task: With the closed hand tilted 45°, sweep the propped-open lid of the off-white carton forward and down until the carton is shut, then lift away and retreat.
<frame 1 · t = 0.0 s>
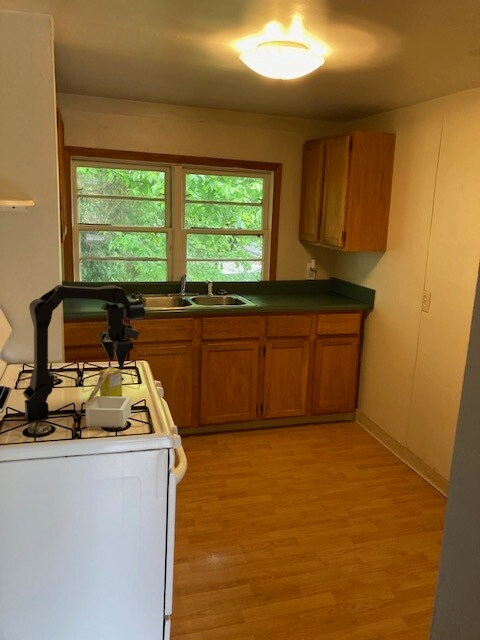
hand: (116, 363, 186), 15 cm above the countertop, tool pointing down, fingers open, 9 cm apart
carton: (109, 419, 173), on the countertop
carton lid: (98, 386, 171), point 12 cm above the countertop, hinge at 60.0°
supplement box: (111, 398, 193), on the countertop
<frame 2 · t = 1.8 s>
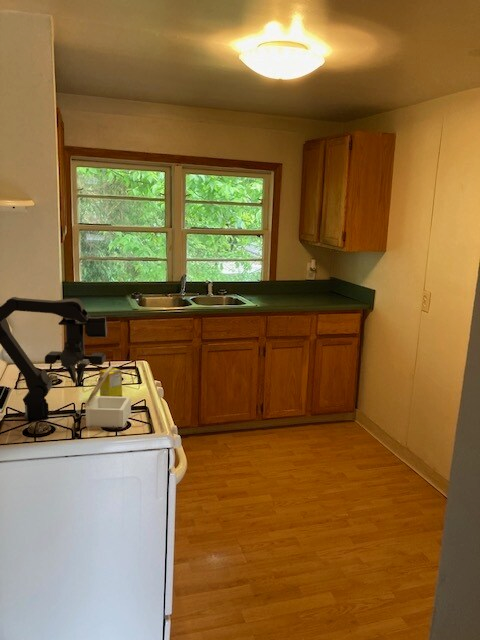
hand: (76, 382, 173), 12 cm above the countertop, tool pointing down, fingers closed
nothing on the countertop moved.
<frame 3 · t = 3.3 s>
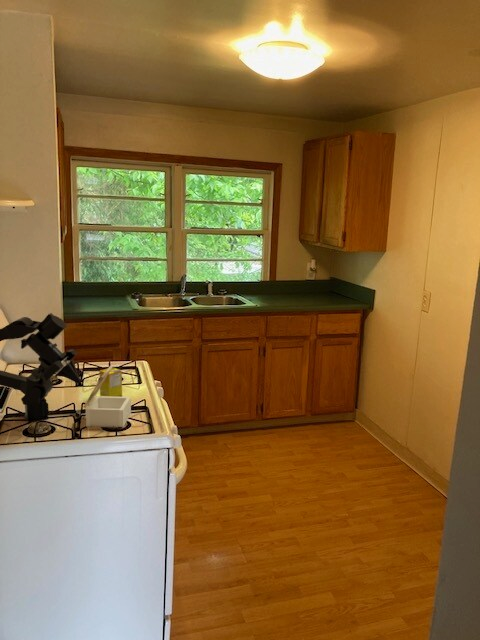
hand: (79, 382, 170), 13 cm above the countertop, tool tilted 45°, fingers closed
nothing on the countertop moved.
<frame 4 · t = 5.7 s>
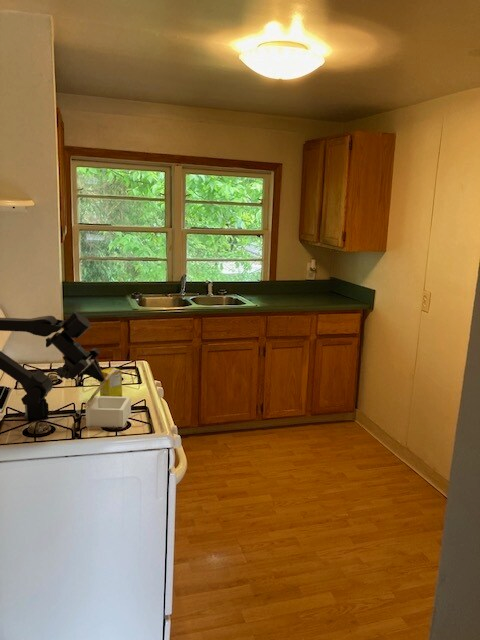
hand: (103, 381, 170), 14 cm above the countertop, tool tilted 45°, fingers closed, pressing on carton lid
carton lid: (100, 387, 171), point 11 cm above the countertop, hinge at 53.6°, touching gripper
everything else where it was.
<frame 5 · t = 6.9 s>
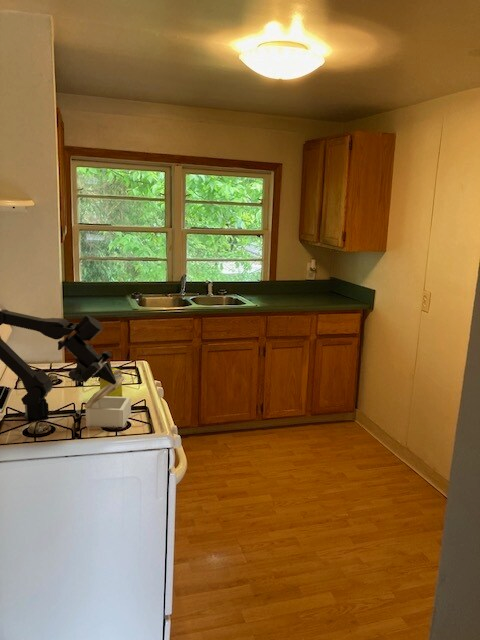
hand: (115, 383, 170), 13 cm above the countertop, tool tilted 45°, fingers closed, pressing on carton lid
carton lid: (104, 391, 171), point 10 cm above the countertop, hinge at 33.9°, touching gripper
everything else where it was.
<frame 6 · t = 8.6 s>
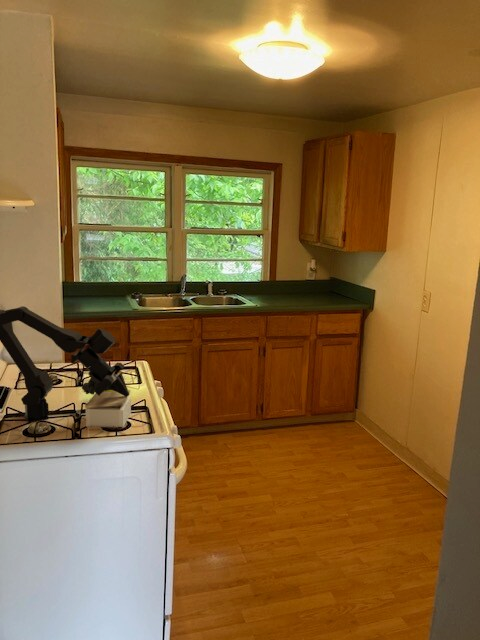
hand: (128, 395, 171), 9 cm above the countertop, tool tilted 45°, fingers closed, pressing on carton lid
carton lid: (108, 398, 172), point 7 cm above the countertop, hinge at 6.9°, touching gripper
everything else where it was.
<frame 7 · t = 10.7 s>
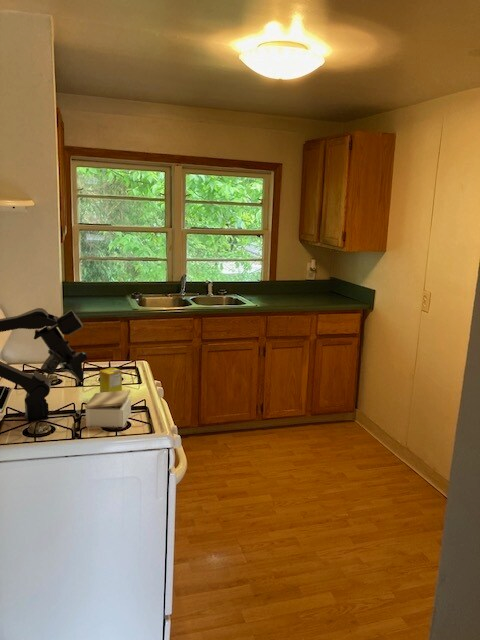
hand: (82, 380, 175), 12 cm above the countertop, tool tilted 30°, fingers closed
carton lid: (108, 398, 172), point 7 cm above the countertop, hinge at 6.9°
everything else where it was.
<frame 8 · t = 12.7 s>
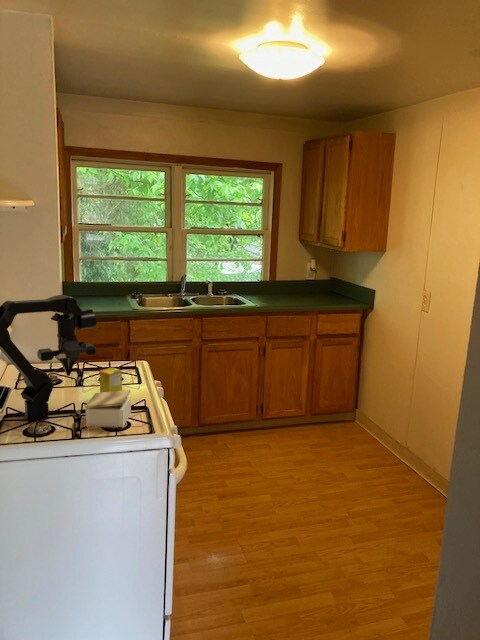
hand: (68, 375, 180), 12 cm above the countertop, tool pointing down, fingers closed
nothing on the countertop moved.
at the end: carton lid at +7° (first picture: +60°) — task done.
